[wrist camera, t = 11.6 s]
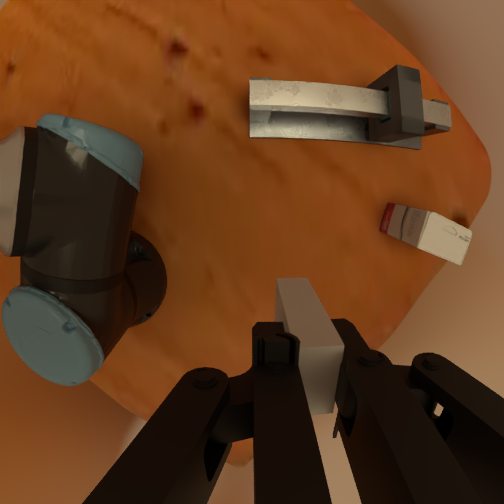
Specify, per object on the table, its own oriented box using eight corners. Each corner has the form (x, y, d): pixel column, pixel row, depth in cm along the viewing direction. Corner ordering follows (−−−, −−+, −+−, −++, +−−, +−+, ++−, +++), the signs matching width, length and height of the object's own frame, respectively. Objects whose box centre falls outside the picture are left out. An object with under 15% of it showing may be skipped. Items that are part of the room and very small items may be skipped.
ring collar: (369, 140, 38) (402, 131, 28) (366, 86, 36) (396, 64, 27) (388, 143, 38) (424, 135, 28) (385, 89, 36) (419, 69, 27)
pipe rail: (249, 138, 41) (249, 125, 32) (249, 84, 39) (249, 60, 30) (418, 149, 41) (453, 145, 32) (415, 101, 39) (448, 88, 30)
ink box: (377, 231, 44) (415, 248, 33) (387, 201, 43) (428, 209, 32) (420, 248, 45) (462, 267, 33) (430, 219, 44) (474, 232, 32)
